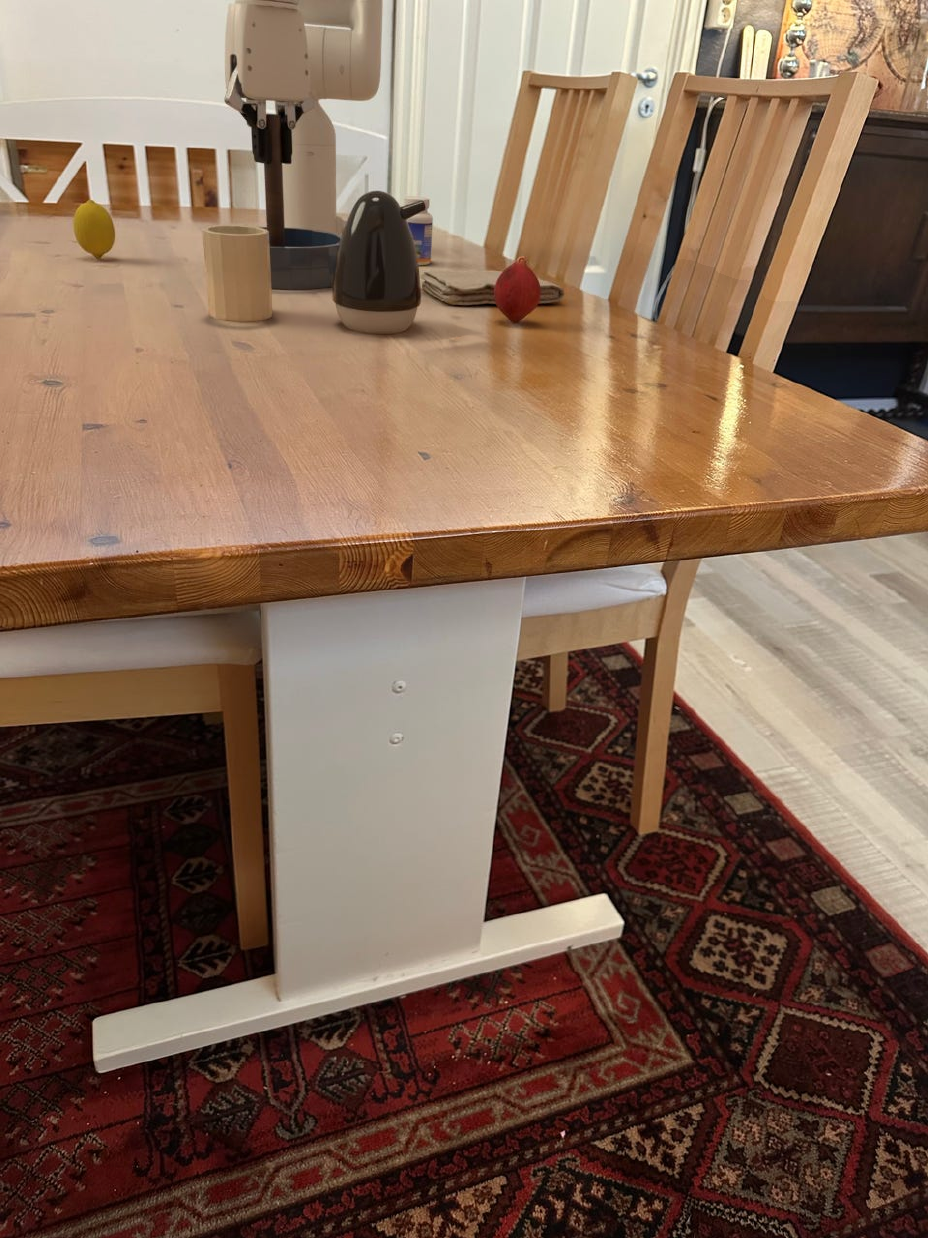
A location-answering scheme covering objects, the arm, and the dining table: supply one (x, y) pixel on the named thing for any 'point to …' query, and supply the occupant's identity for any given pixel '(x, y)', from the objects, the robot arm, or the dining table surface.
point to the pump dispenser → (377, 266)
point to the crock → (238, 272)
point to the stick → (275, 184)
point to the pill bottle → (421, 230)
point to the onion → (517, 291)
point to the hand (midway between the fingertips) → (272, 161)
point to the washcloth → (476, 287)
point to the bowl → (304, 259)
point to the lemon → (94, 229)
